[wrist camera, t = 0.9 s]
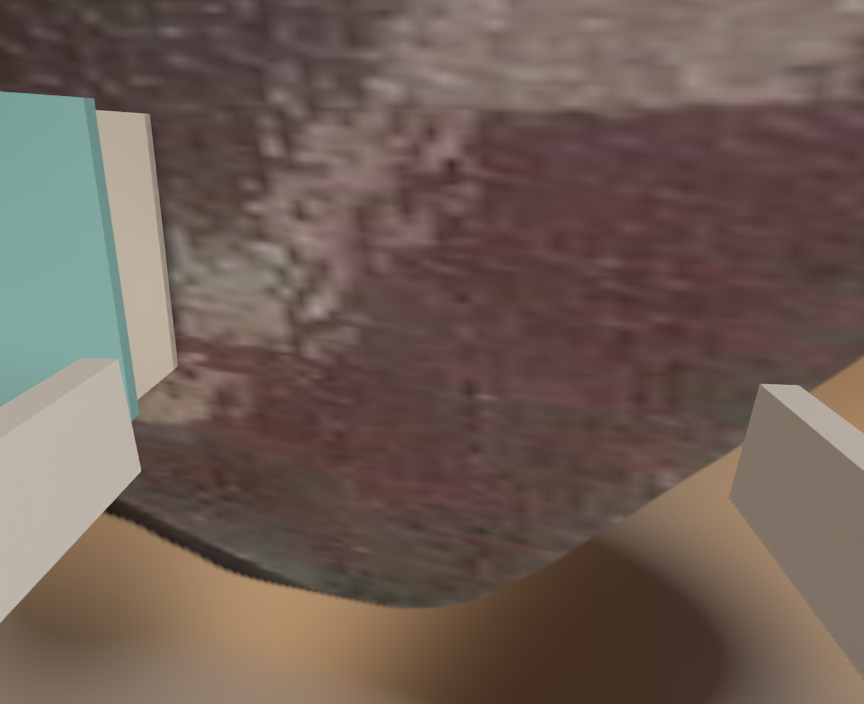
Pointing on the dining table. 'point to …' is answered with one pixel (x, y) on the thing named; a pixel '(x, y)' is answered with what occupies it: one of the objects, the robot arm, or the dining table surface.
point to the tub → (139, 243)
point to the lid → (56, 245)
